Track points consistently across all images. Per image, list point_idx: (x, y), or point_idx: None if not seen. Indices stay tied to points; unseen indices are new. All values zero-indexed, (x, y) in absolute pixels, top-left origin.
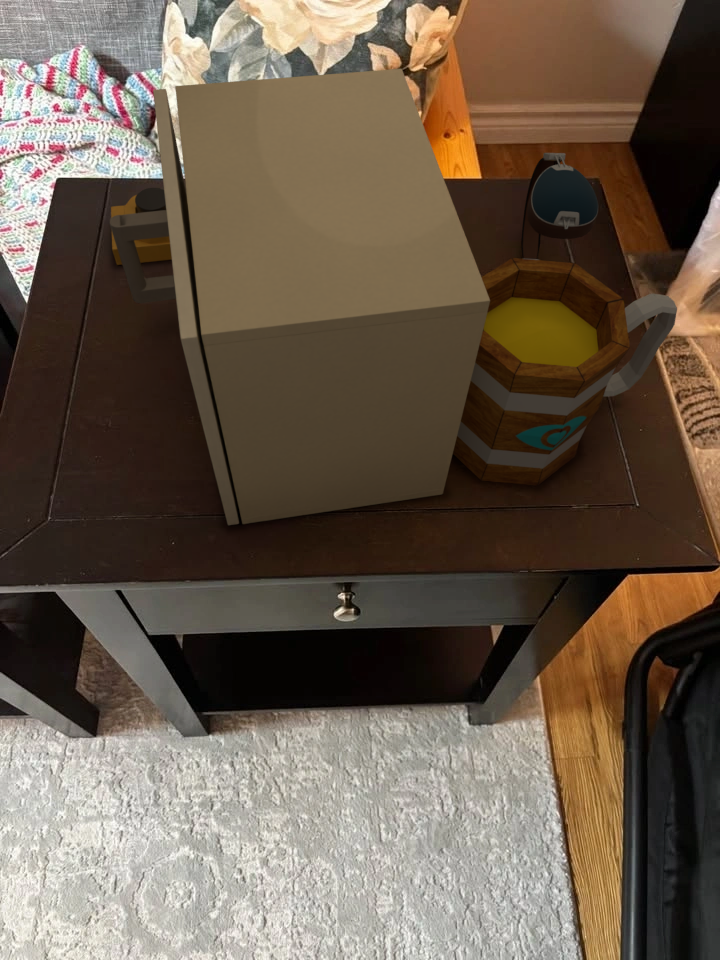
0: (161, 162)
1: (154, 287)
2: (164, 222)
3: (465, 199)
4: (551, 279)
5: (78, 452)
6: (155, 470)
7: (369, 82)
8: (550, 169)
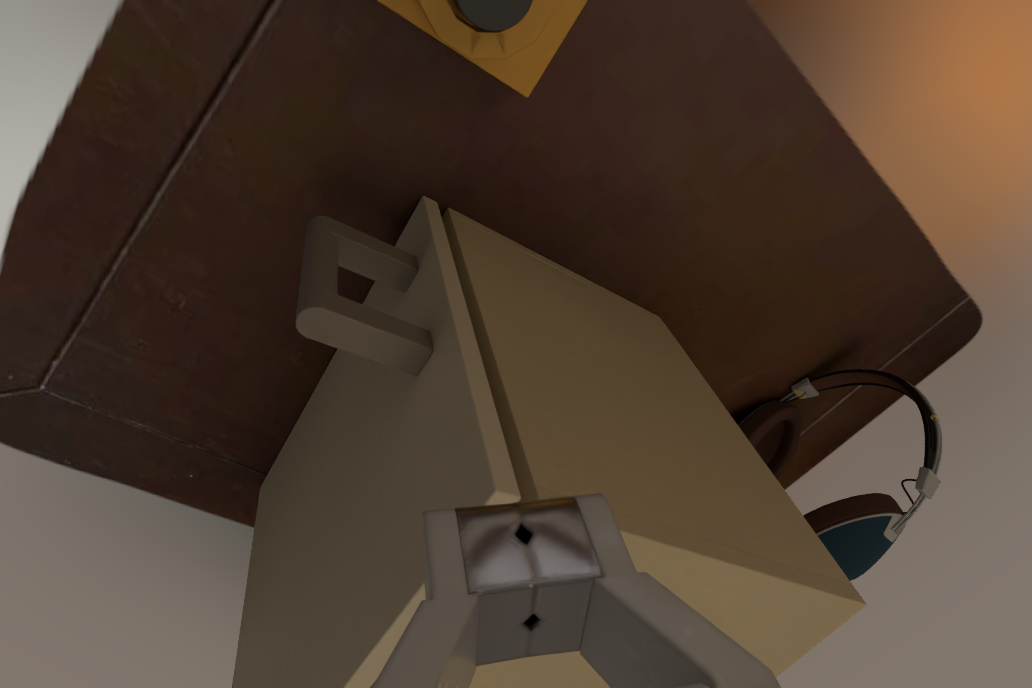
0: (367, 658)
1: (345, 265)
2: (393, 367)
3: (889, 244)
4: None
5: (116, 321)
6: (212, 394)
7: (800, 615)
8: (885, 521)
